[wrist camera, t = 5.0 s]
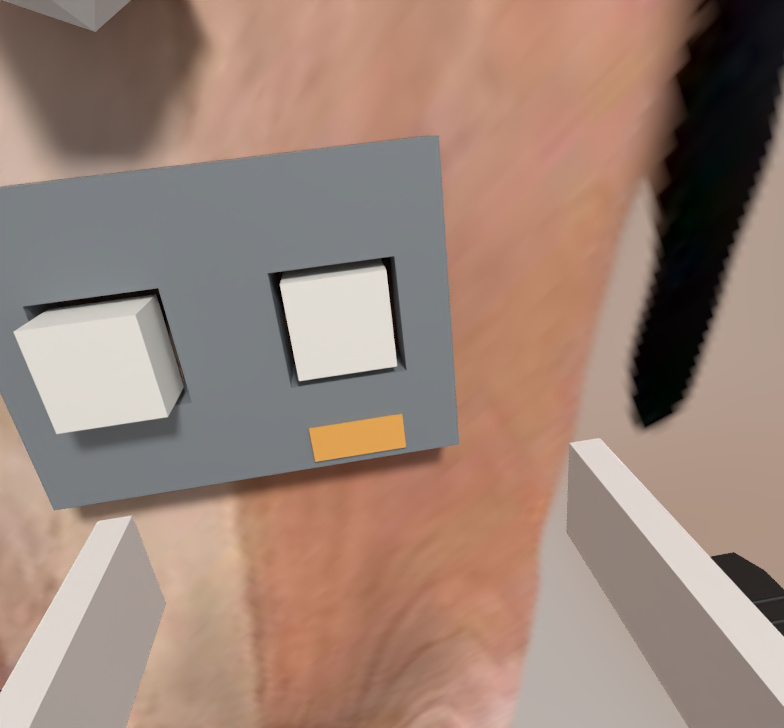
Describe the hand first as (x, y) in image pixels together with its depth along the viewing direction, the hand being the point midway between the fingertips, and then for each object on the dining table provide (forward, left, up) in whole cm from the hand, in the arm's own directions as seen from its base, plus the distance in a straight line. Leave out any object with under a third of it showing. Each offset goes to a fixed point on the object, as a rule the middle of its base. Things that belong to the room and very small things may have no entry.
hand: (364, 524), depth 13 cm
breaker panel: (-6, 0, -18) cm, 19 cm away
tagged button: (0, 0, -18) cm, 18 cm away
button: (-11, 0, -16) cm, 19 cm away
